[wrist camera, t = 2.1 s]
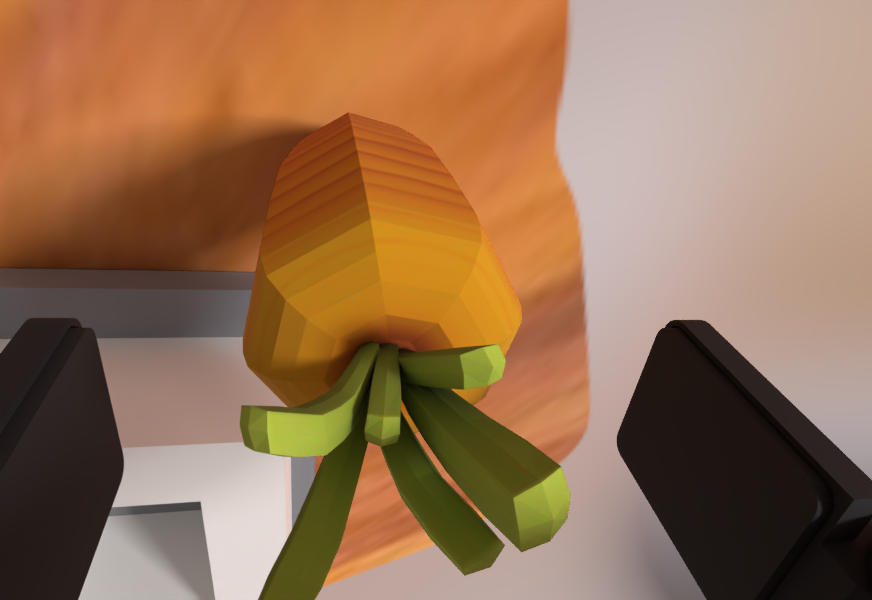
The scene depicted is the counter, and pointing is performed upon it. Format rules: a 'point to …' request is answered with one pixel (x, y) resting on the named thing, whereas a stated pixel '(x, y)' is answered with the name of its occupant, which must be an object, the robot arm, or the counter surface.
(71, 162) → the counter surface
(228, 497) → the socket stand
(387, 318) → the carrot
